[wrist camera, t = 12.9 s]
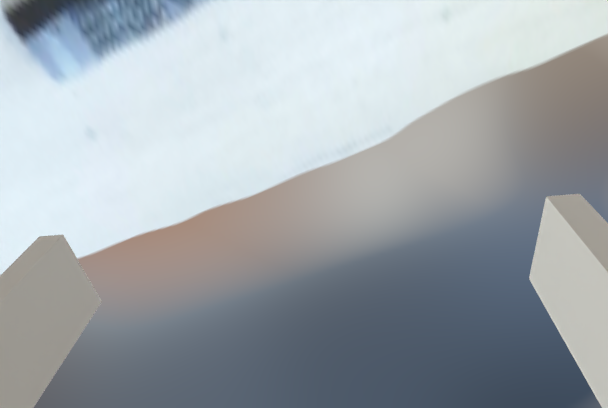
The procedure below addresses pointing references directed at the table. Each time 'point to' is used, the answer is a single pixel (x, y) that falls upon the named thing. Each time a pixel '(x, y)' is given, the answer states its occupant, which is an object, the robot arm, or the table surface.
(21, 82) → the table surface
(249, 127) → the table surface
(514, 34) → the table surface
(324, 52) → the table surface
